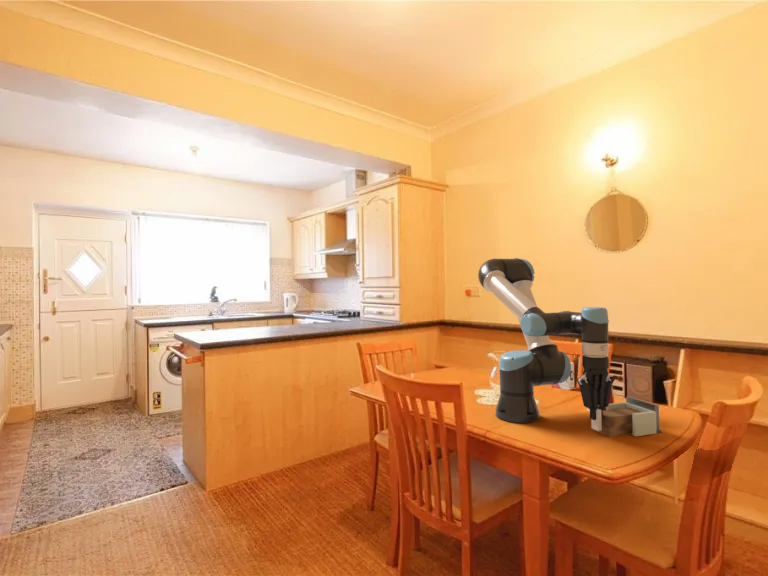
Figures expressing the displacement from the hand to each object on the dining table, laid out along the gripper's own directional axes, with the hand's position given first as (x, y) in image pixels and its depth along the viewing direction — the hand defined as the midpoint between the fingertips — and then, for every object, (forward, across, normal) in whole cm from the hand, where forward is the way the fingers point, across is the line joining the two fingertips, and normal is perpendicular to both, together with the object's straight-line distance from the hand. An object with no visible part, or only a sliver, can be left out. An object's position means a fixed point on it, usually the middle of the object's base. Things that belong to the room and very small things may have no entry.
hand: (596, 429), depth 129 cm
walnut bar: (+2, +9, 0) cm, 9 cm away
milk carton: (+2, +19, +18) cm, 26 cm away
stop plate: (+1, +18, 0) cm, 18 cm away
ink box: (+1, +29, +52) cm, 59 cm away
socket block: (+1, +14, 0) cm, 14 cm away
